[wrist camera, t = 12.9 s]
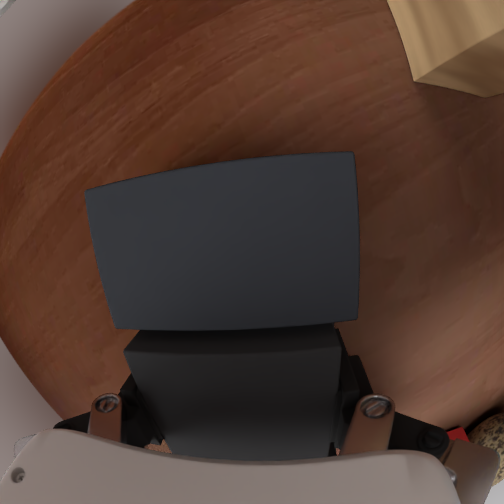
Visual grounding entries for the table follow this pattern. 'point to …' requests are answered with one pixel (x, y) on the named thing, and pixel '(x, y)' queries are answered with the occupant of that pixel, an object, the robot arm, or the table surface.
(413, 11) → the light wooden block
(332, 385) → the middle pad
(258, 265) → the end pads
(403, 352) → the table surface
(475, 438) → the decorative egg
